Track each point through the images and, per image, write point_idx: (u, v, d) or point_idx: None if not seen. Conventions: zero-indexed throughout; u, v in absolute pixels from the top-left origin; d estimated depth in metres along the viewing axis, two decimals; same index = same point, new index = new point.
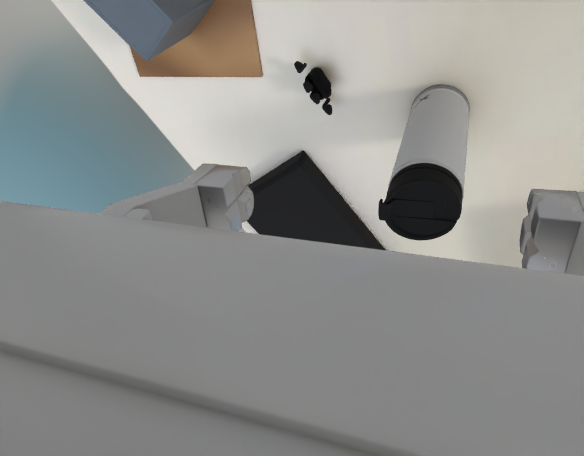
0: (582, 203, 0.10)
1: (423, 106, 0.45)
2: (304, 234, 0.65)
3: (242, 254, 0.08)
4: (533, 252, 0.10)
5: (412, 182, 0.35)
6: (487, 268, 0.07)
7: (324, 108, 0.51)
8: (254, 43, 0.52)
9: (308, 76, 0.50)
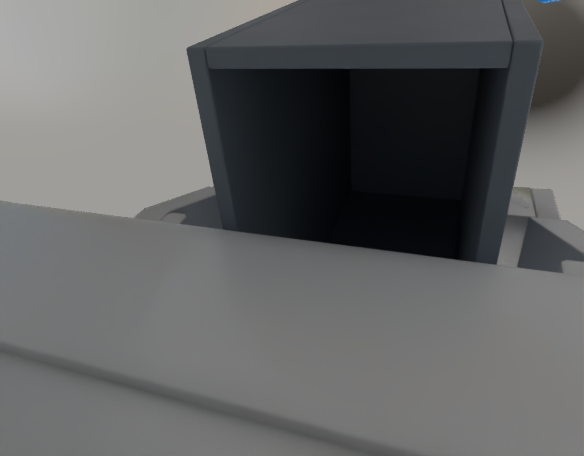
0: (534, 199, 0.11)
1: None
2: None
3: (242, 254, 0.08)
4: None
5: None
6: (487, 268, 0.07)
7: None
8: None
9: None
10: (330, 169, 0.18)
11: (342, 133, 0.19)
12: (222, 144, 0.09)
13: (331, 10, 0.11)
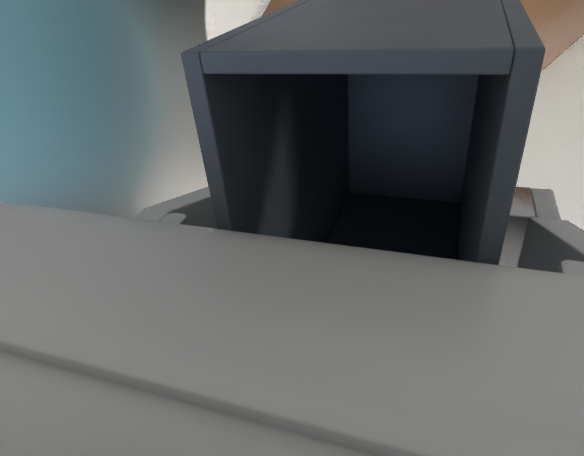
0: (533, 199, 0.11)
1: None
2: None
3: (242, 253, 0.08)
4: None
5: None
6: (487, 268, 0.07)
7: None
8: None
9: None
10: (328, 171, 0.18)
11: (340, 135, 0.19)
12: (217, 151, 0.09)
13: (329, 13, 0.11)
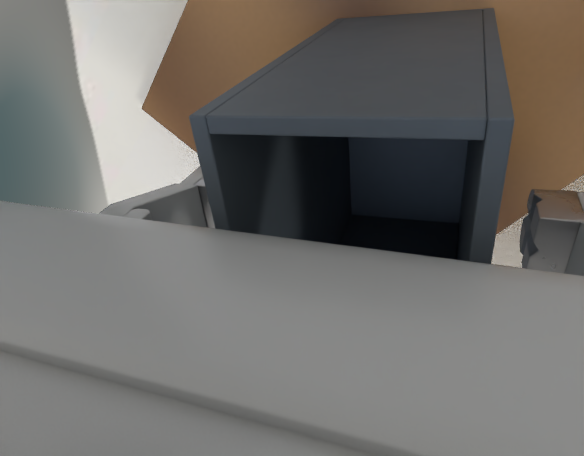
0: (582, 203, 0.10)
1: None
2: None
3: (242, 254, 0.08)
4: (533, 252, 0.10)
5: None
6: (487, 268, 0.07)
7: None
8: None
9: None
10: (330, 198, 0.18)
11: (341, 162, 0.20)
12: (223, 199, 0.10)
13: (324, 64, 0.11)
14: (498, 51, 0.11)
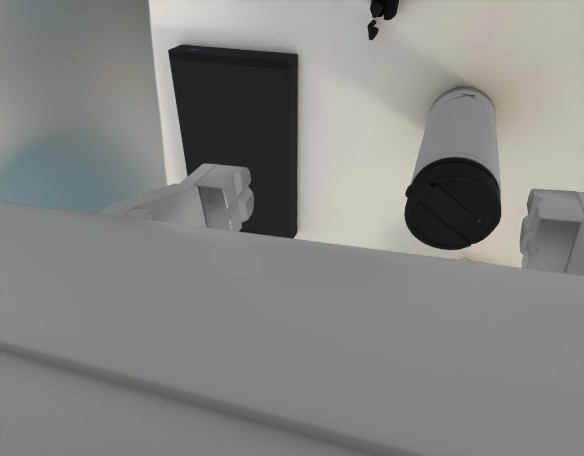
0: (582, 203, 0.10)
1: (471, 104, 0.39)
2: (231, 143, 0.52)
3: (241, 253, 0.08)
4: (533, 252, 0.10)
5: (476, 181, 0.28)
6: (487, 268, 0.07)
7: (371, 28, 0.40)
8: None
9: None
10: None
11: None
12: None
13: None
14: None
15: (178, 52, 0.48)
